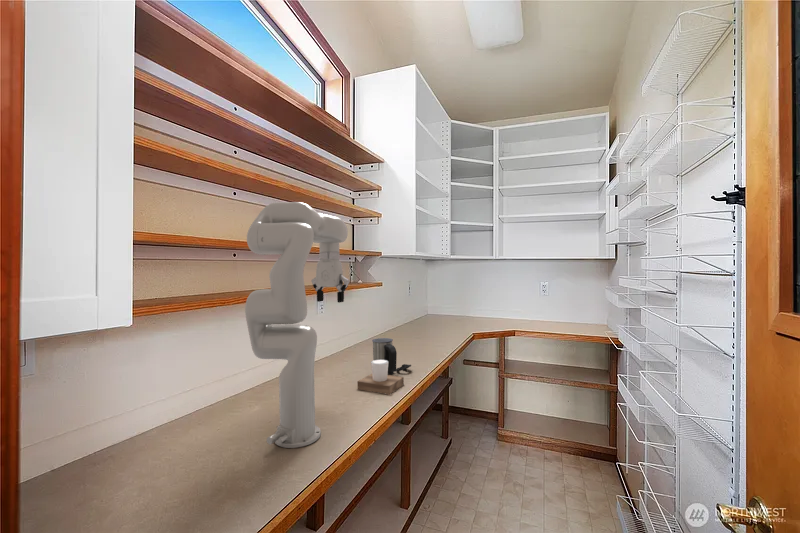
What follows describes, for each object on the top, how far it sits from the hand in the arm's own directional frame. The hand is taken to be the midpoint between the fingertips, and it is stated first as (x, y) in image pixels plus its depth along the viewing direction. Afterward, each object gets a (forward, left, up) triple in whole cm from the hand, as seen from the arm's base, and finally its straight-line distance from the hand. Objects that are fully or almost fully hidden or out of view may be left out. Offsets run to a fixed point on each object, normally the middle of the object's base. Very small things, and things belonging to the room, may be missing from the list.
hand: (330, 301), depth 140 cm
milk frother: (+30, -11, -34) cm, 47 cm away
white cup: (+11, -15, -31) cm, 36 cm away
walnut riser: (+11, -16, -34) cm, 39 cm away
